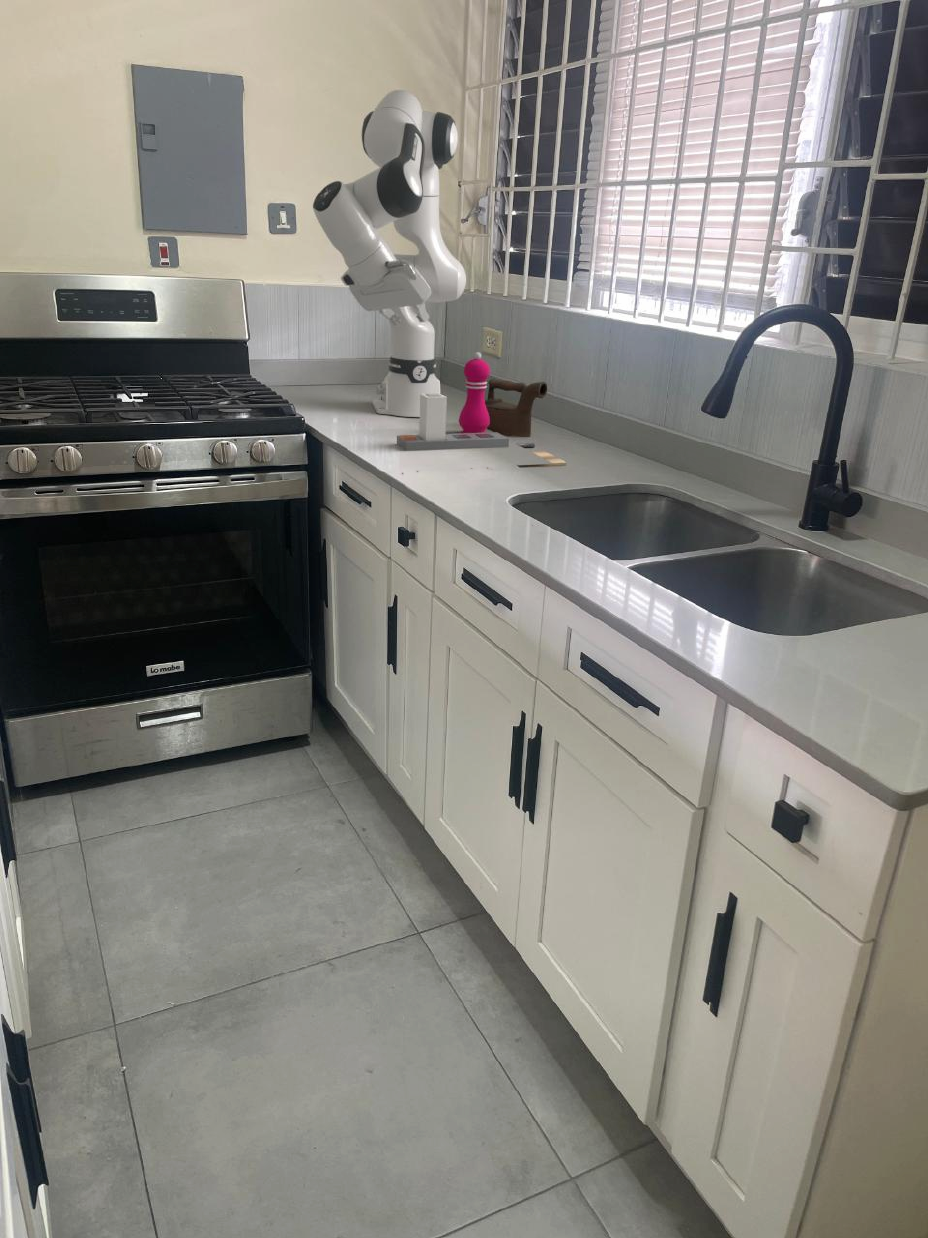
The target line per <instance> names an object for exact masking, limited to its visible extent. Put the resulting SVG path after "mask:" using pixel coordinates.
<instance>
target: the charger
mask: <svg viewBox="0 0 928 1238" xmlns="http://www.w3.org/2000/svg"><path fill="white" fill-rule="evenodd" d="M447 401H448V397H447V396H446V395H443V394H441V393H440V394H420V417H419V427H418V428H419V430H418V431H419V432H418V435H419V438H420V439H422V440H424V441H440V440H445V434H447V433H446V431H447V429H446V428H447V427H446V426H447V407H448V405H447Z"/></svg>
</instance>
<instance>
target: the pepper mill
mask: <svg viewBox="0 0 928 1238" xmlns="http://www.w3.org/2000/svg"><path fill="white" fill-rule="evenodd" d="M490 374H491V369H490V365H489V364H488V363H487V361H485V360H483V359H482V353H481V352H479V351H477V352H476V351H475V352H474V354H473V359H470V360H468V361H466V364H465V365H464V367H463V375H464V377H465V378H466V380H465V388H466V400H465V403H464V406H463V408H462V409H461V412H460V414H459V418H458V424H459V426H460V427H461V428H462V430H461V431H460V433H487V431H486V430H487V427H488V426H489V424H490V418H489V414H488V411H487V408H486V405H485V393H486V392H485V391H486V389H487V387H488V386H487V384H488V381H487V379H488V378H489V377H490ZM460 433H459V434H460Z"/></svg>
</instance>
